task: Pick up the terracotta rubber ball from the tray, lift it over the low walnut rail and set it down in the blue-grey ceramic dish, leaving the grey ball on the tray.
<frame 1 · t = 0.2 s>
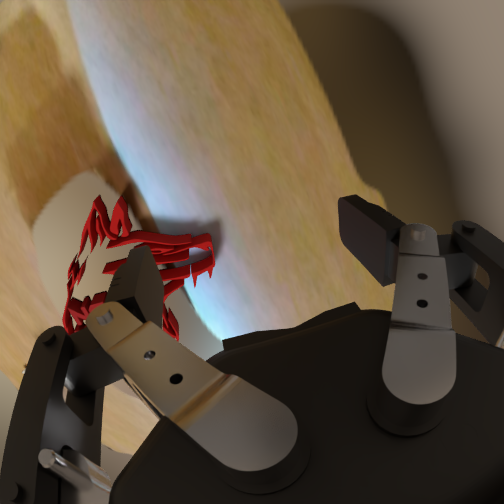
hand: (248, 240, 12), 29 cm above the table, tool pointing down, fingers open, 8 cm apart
decorative sculpture: (125, 284, 45), on the table
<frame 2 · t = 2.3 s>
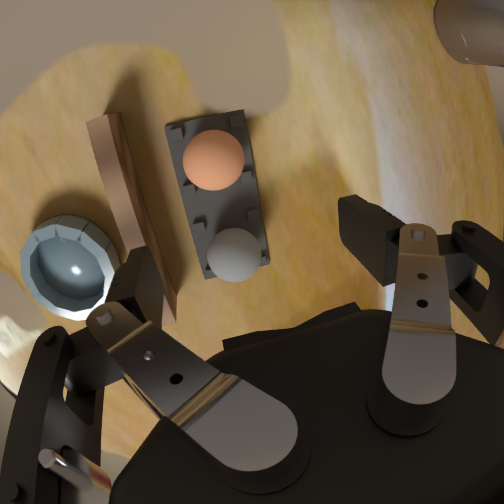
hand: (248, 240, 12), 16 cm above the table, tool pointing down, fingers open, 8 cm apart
rail: (139, 215, 27), on the table
grey ball: (234, 254, 28), point 3 cm above the table, touching tray
dish: (73, 263, 28), on the table
tray: (221, 200, 28), on the table
ball: (213, 160, 24), point 3 cm above the table, touching tray
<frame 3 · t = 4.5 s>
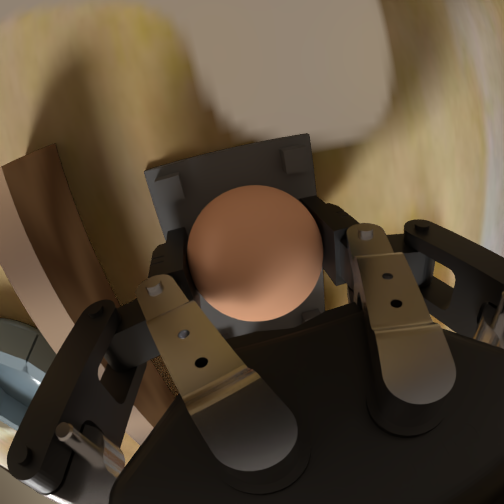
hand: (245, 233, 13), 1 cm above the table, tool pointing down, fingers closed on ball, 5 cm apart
rail: (115, 327, 15), on the table
dish: (33, 377, 16), on the table
tray: (259, 301, 16), on the table
ball: (255, 253, 11), point 3 cm above the table, touching gripper, tray
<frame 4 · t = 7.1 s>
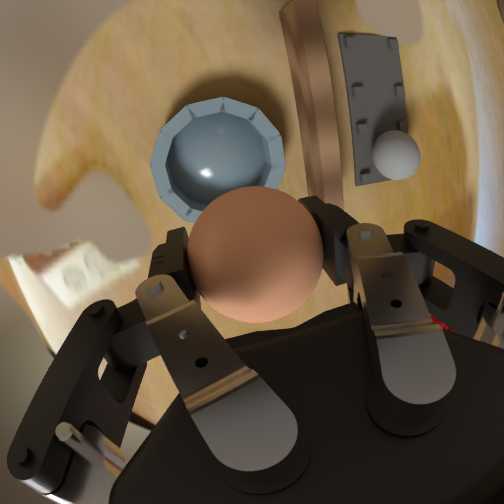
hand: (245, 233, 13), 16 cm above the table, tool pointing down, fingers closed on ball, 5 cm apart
rail: (306, 110, 26), on the table
grey ball: (396, 155, 26), point 3 cm above the table, touching tray
dish: (216, 158, 26), on the table
tray: (378, 108, 26), on the table
ball: (255, 254, 11), point 18 cm above the table, touching gripper
when the fingers open (2 cm above the table, at t = 9.6 s): ball drops 1 cm, resting on dish.
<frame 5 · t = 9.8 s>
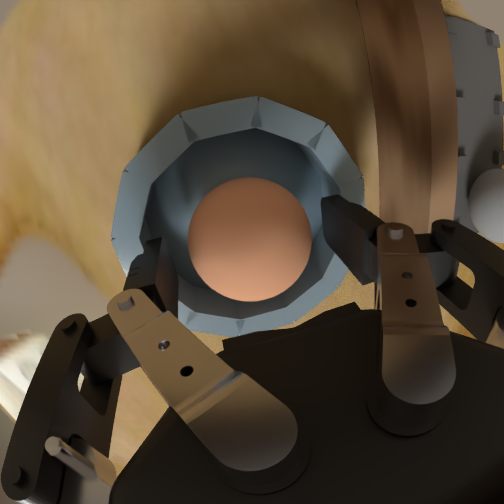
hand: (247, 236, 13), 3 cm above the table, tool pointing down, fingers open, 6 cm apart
rail: (389, 128, 14), on the table
grey ball: (500, 205, 15), point 3 cm above the table, touching tray
dish: (237, 213, 15), on the table
tray: (475, 131, 15), on the table
ball: (249, 239, 12), point 3 cm above the table, touching dish
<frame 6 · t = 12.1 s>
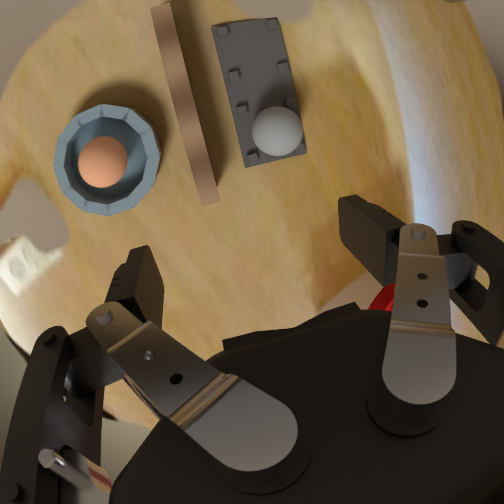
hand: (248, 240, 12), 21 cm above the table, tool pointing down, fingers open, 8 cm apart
rail: (183, 102, 27), on the table
grey ball: (277, 131, 28), point 3 cm above the table, touching tray
dish: (109, 156, 28), on the table
tray: (261, 89, 28), on the table
ball: (102, 161, 25), point 3 cm above the table, touching dish
decorative sculpture: (375, 344, 51), on the table
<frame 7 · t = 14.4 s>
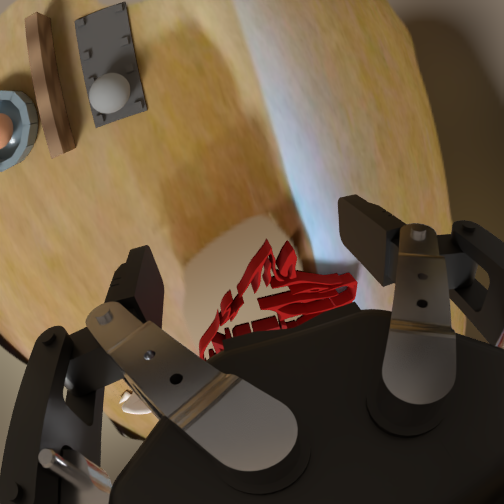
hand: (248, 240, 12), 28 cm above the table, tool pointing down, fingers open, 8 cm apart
rail: (53, 82, 28), on the table
grey ball: (109, 93, 28), point 3 cm above the table, touching tray
dish: (8, 128, 29), on the table
tray: (108, 62, 29), on the table
person figurine: (161, 393, 57), on the table
decorative sculpture: (268, 315, 52), on the table
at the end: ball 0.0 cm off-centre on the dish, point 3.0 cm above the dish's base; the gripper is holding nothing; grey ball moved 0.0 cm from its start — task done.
